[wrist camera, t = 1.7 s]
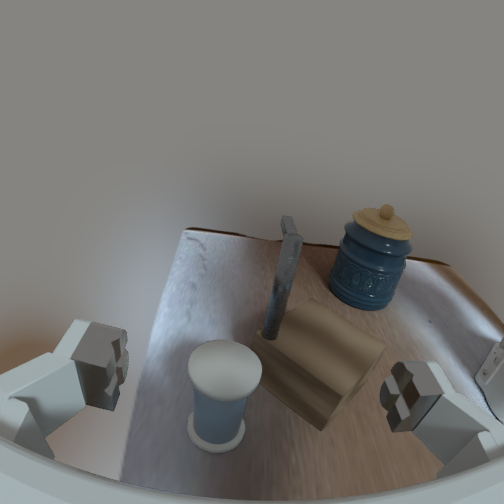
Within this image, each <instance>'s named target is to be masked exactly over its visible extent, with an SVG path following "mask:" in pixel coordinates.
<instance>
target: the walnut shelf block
mask: <svg viewBox="0 0 504 504" xmlns="http://www.w3.org/2000/svg"><path fill="white" fill-rule="evenodd" d="M262 329H263V328H261V329H259V330H258V331H256V332H255V334H254V339H253V343H252V348H251V350H252V351H253V352H254V353H255V354H256V355H257V356H258V358H259V360H260V362H261V365H262V374H261V378H260V382H259V384H261V385H262V386H263V387H264V388H266V389H267V390H268V391H269V392H271V393H272V394H273V395H274V396H275V397H277V398H278V399H279V400H280V401H282V402H283V403H284V404H286V405H287V406H288V407H289V408H291V409H292V410H293V411H295V412H296V413H297V414H298V415H300V416H301V417H302V418H304V419H305V420H306V421H308V422H309V423H310V424H312V425H313V426H314V427H316V428H317V429H318V430H320V431H322V430H323V429H324V428H325V427H326V426H327V425H328V424H329V423H330V422H331V420H332V419H333V418H334V417H335V416H336V415H337V414H338V413H339V412H340V411H341V410H342V409H343V408H344V406H345V405H346V404H347V403H348V402H349V401H350V400H351V399H352V398H353V396H354V395H355V394H356V393H357V392H358V391H359V389H360V388H361V387H362V386H363V385H364V384H365V382H366V381H367V379H368V378H369V376H370V374H371V373H372V371H373V369H374V368H375V366H376V364H377V362H378V361H379V359H380V357H381V355H382V354H383V352H384V350H385V348H386V346H387V344H385V343H383V342H382V341H380V340H379V339H377V338H375V337H374V336H372V335H371V334H369V333H367V332H366V331H364V330H362V329H361V328H359V327H358V326H356V325H354V324H353V323H351V322H350V321H348V320H346V319H345V318H343V317H342V316H340V315H338V314H337V313H335V312H334V311H332V310H330V309H329V308H327V307H326V306H324V305H322V304H321V303H319V302H318V301H316V300H314V299H313V298H311V299H309V300H308V301H306V302H304V303H303V304H301V305H300V306H298V307H296V308H295V309H293V310H291V311H290V312H288V313H286V314H285V315H284V316H283V319H282V323H281V326H280V330H279V333H278V337H277V339H275V340H272V341H270V340H266V339H264V338H263V337H262Z"/></svg>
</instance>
